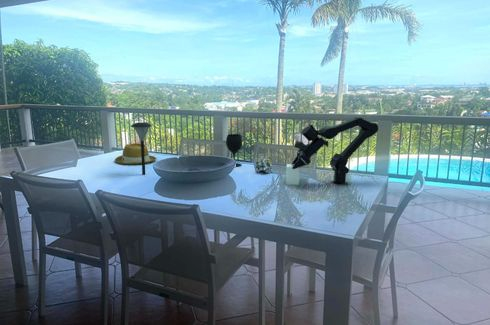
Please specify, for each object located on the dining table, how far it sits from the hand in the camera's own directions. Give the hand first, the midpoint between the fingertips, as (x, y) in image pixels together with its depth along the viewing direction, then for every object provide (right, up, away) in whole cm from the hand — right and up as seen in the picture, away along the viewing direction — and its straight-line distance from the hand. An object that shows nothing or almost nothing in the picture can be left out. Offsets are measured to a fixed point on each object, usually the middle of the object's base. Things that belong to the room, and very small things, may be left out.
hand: (292, 166), depth 196 cm
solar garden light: (-84, -5, +18) cm, 86 cm away
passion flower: (-14, -4, +26) cm, 30 cm away
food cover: (0, -9, +2) cm, 9 cm away
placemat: (+1, -8, +6) cm, 10 cm away
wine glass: (-32, 0, +45) cm, 56 cm away
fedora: (-99, +3, +55) cm, 114 cm away
